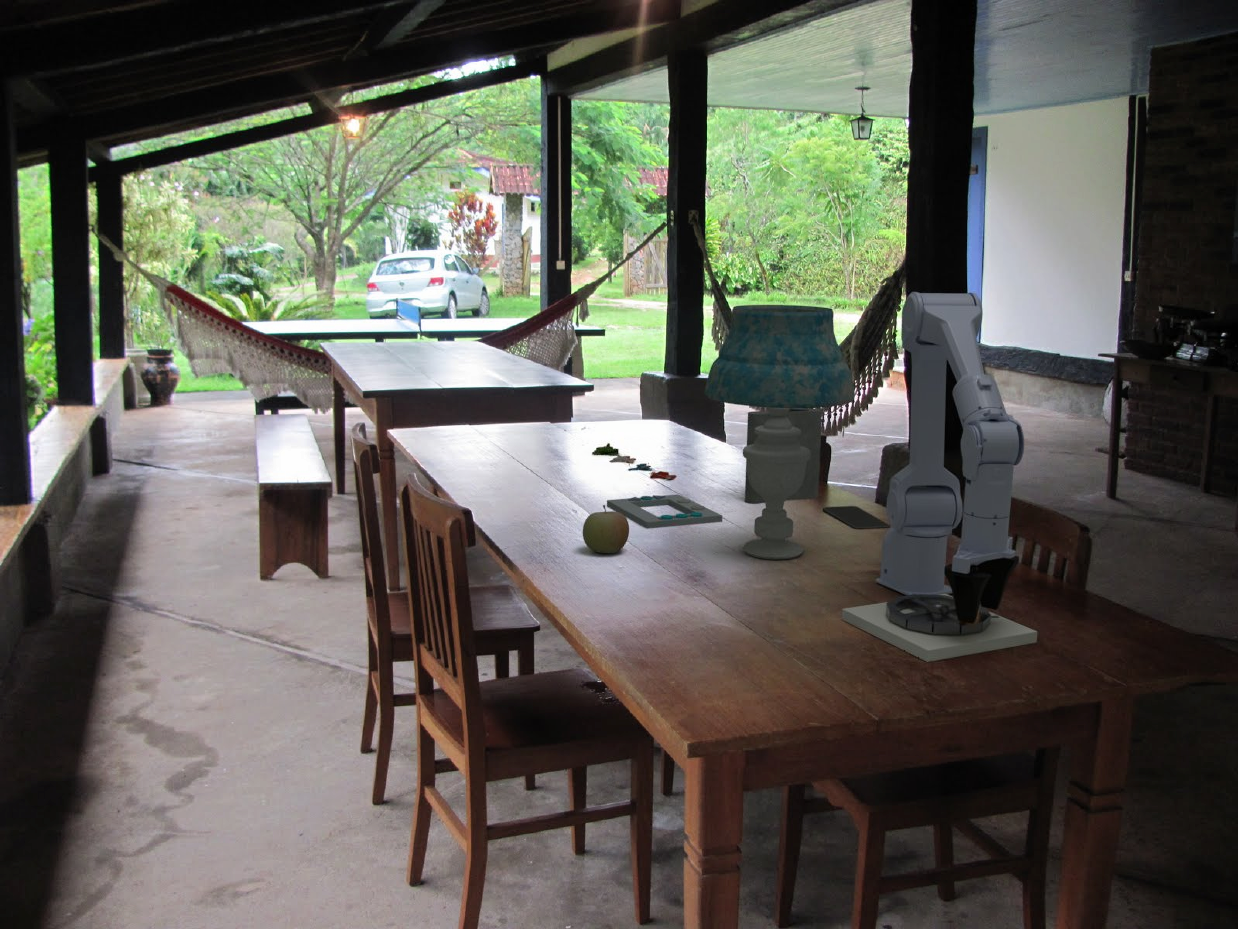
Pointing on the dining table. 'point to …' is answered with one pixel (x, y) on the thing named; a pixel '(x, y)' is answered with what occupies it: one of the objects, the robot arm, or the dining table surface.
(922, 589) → the robot arm
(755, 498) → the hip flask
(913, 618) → the handwheel
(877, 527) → the smartphone
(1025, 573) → the dining table surface
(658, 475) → the toy spaceship set
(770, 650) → the dining table surface
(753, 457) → the table lamp
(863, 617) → the base plate
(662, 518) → the picture frame
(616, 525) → the fruit
